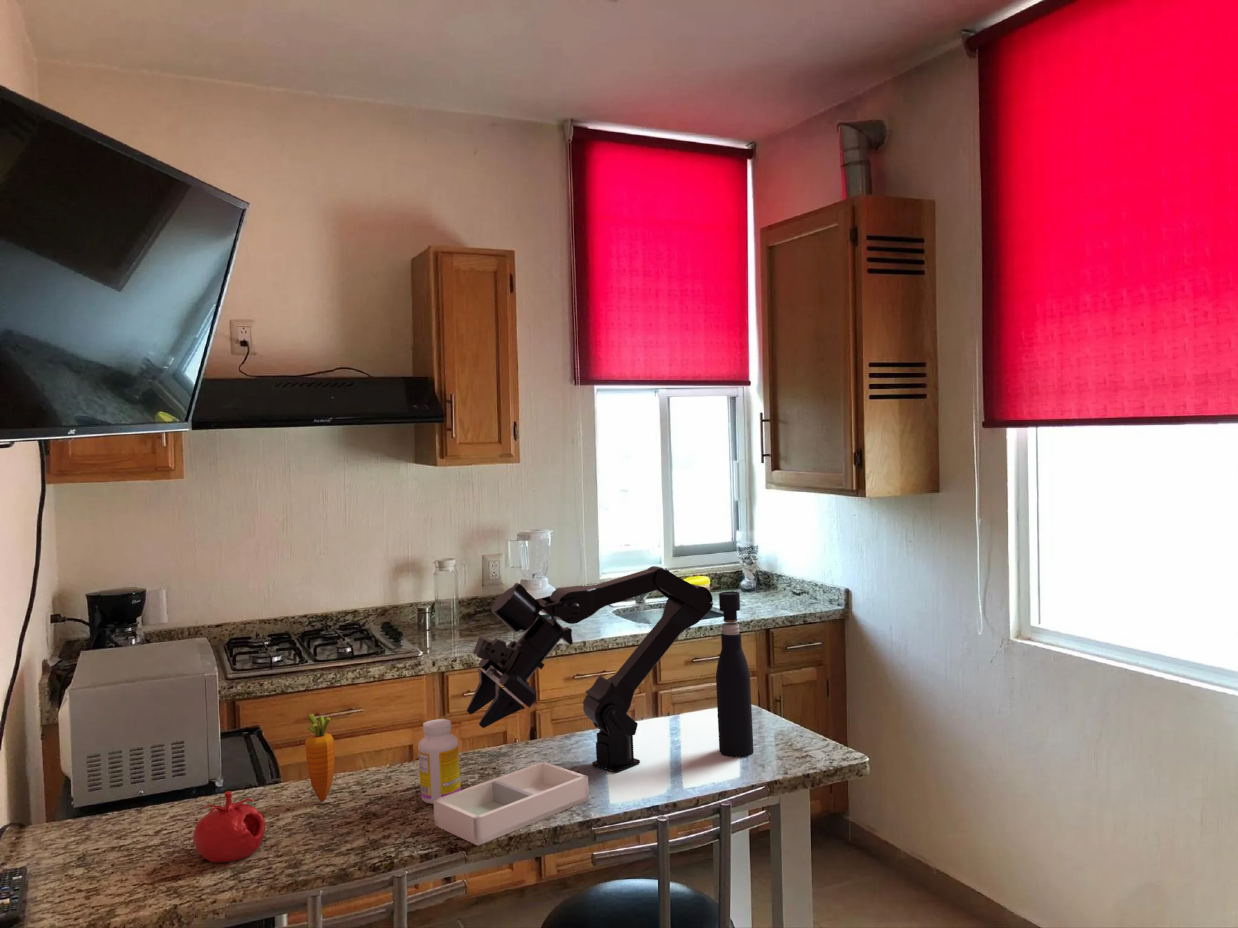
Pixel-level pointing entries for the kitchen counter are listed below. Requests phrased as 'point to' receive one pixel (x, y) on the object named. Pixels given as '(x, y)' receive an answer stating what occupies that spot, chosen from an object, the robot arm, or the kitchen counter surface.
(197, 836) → the red tomato
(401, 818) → the kitchen counter surface
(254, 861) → the kitchen counter surface
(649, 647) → the robot arm
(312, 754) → the carrot
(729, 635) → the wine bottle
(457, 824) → the slot organizer
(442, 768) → the supplement bottle
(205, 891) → the kitchen counter surface
